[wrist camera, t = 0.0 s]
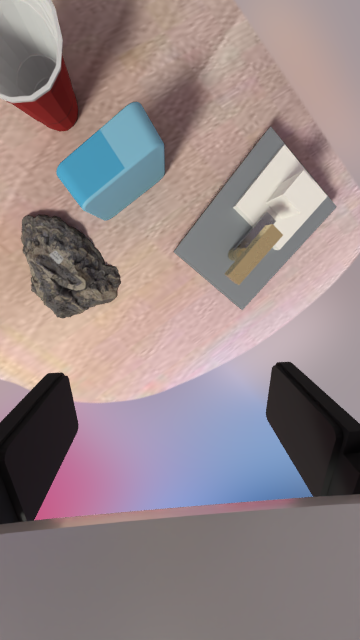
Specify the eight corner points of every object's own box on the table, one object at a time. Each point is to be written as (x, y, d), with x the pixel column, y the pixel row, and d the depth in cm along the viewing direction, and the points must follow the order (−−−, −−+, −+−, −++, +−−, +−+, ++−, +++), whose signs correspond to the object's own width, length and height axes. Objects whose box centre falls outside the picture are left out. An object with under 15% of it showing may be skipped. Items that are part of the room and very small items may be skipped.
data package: (148, 148, 33) (139, 93, 21) (165, 176, 34) (165, 139, 22) (88, 197, 34) (49, 170, 23) (107, 222, 35) (79, 209, 24)
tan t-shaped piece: (259, 214, 33) (290, 202, 25) (268, 223, 34) (301, 214, 26) (213, 269, 36) (228, 275, 27) (222, 277, 36) (239, 285, 28)
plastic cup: (100, 156, 32) (64, 105, 21) (26, 149, 32) (-53, 92, 20) (95, 62, 29) (50, -59, 18) (12, 51, 28) (-92, -83, 17)
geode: (79, 333, 42) (132, 281, 39) (70, 341, 38) (128, 284, 35) (-8, 260, 37) (46, 195, 34) (-28, 260, 33) (32, 188, 30)
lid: (279, 149, 31) (307, 124, 25) (320, 198, 33) (355, 186, 27) (232, 207, 33) (248, 197, 27) (275, 249, 36) (297, 249, 29)
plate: (261, 137, 33) (270, 126, 30) (323, 210, 37) (336, 206, 34) (173, 251, 37) (173, 251, 35) (237, 305, 41) (242, 310, 39)
